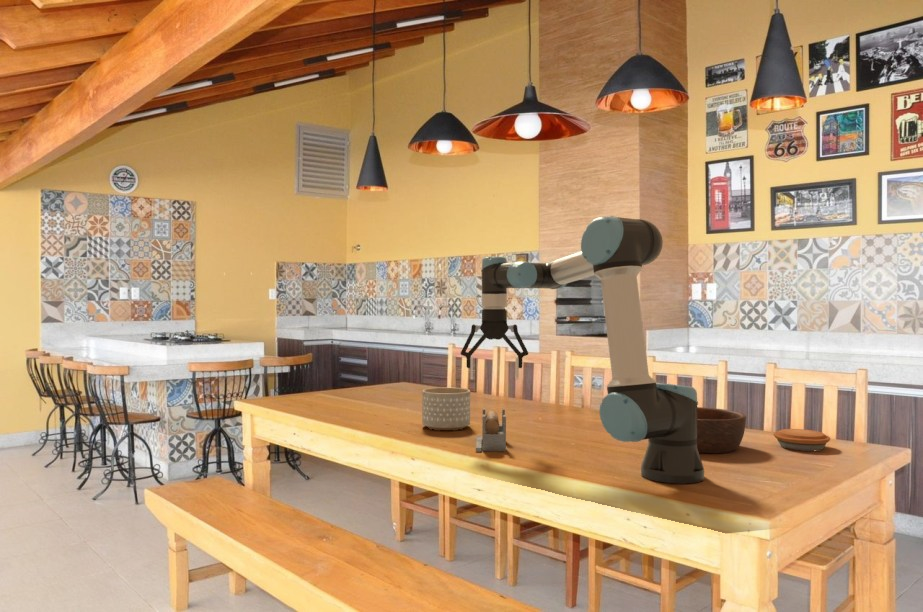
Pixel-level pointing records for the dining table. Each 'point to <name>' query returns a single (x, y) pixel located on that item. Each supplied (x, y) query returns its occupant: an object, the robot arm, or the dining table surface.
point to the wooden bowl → (719, 430)
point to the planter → (446, 408)
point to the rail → (491, 422)
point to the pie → (801, 439)
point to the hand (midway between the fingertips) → (494, 379)
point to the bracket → (492, 437)
